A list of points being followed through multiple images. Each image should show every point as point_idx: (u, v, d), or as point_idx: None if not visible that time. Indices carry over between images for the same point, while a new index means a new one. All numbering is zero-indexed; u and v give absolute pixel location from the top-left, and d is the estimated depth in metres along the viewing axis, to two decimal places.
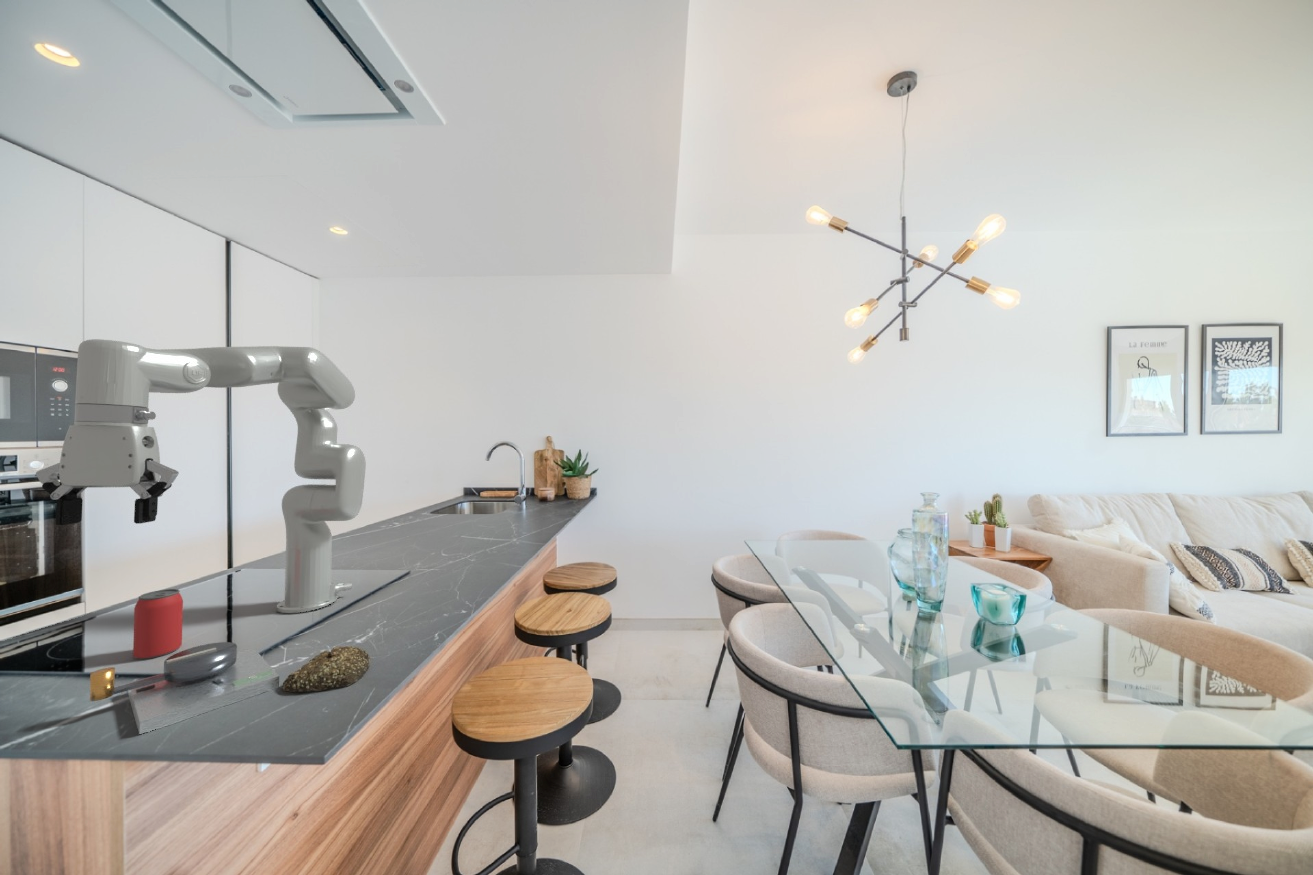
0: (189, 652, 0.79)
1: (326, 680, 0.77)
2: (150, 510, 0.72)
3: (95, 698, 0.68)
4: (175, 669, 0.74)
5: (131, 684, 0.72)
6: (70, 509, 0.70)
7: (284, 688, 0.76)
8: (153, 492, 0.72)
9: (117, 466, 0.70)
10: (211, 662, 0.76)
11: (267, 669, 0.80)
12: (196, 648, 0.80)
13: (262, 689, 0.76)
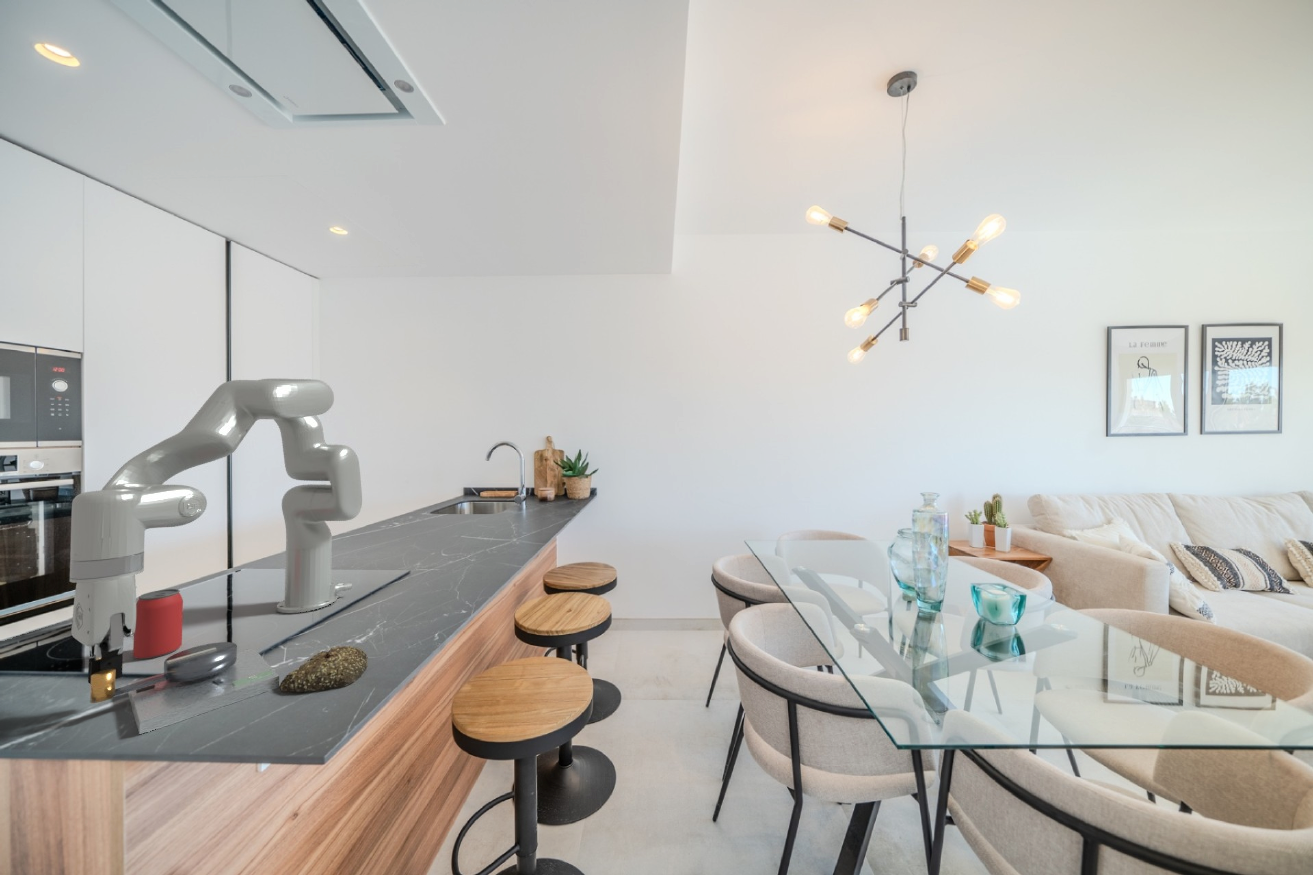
0: (188, 653, 0.78)
1: (324, 680, 0.77)
2: None
3: (96, 700, 0.68)
4: (177, 669, 0.74)
5: (132, 685, 0.71)
6: None
7: (282, 688, 0.76)
8: None
9: None
10: (213, 661, 0.76)
11: (267, 669, 0.80)
12: (194, 649, 0.80)
13: (262, 689, 0.76)
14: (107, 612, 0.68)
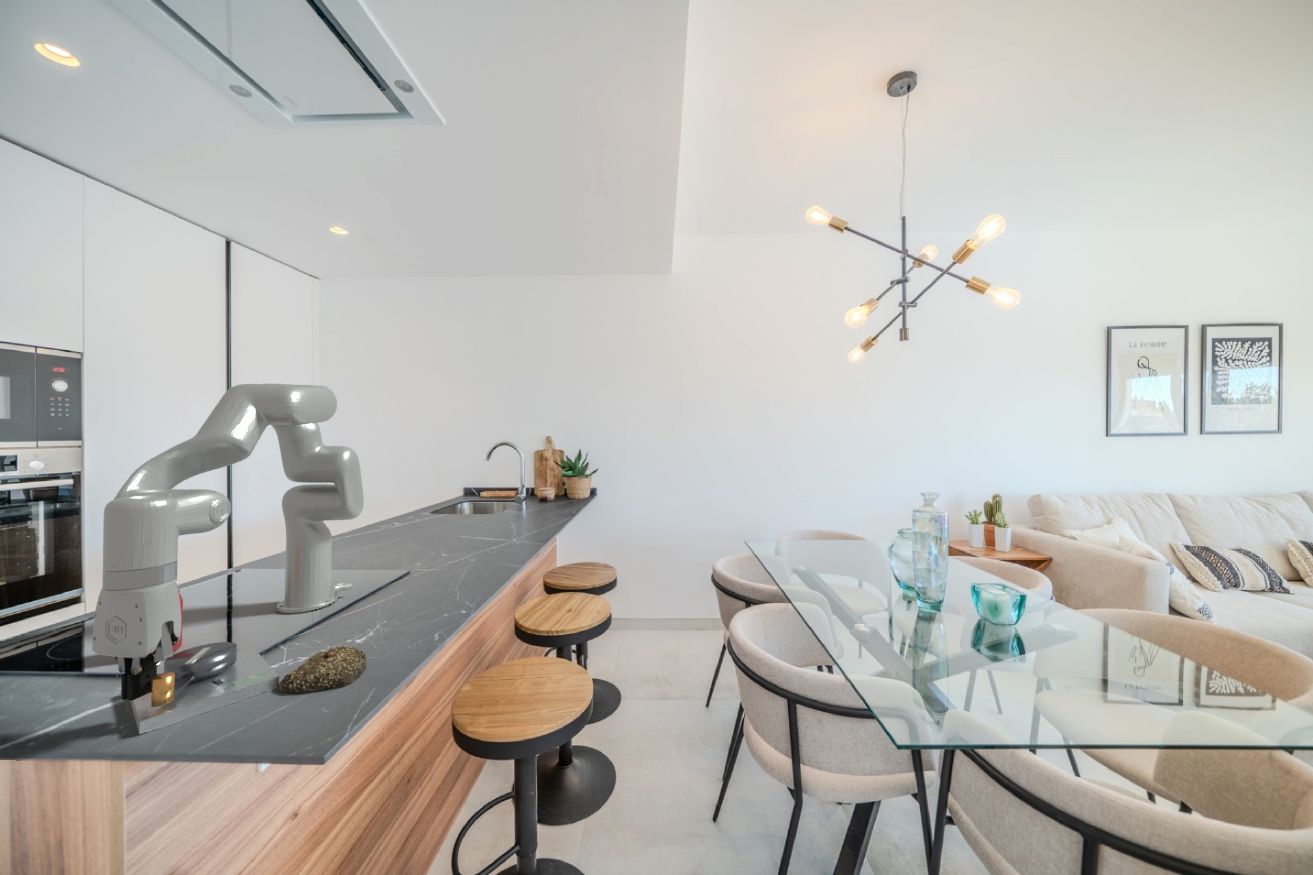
0: (180, 659, 0.76)
1: (322, 680, 0.77)
2: None
3: (168, 700, 0.68)
4: (212, 662, 0.76)
5: None
6: None
7: (280, 688, 0.76)
8: None
9: None
10: (235, 649, 0.80)
11: (267, 669, 0.80)
12: (174, 657, 0.77)
13: (262, 689, 0.76)
14: (159, 621, 0.66)
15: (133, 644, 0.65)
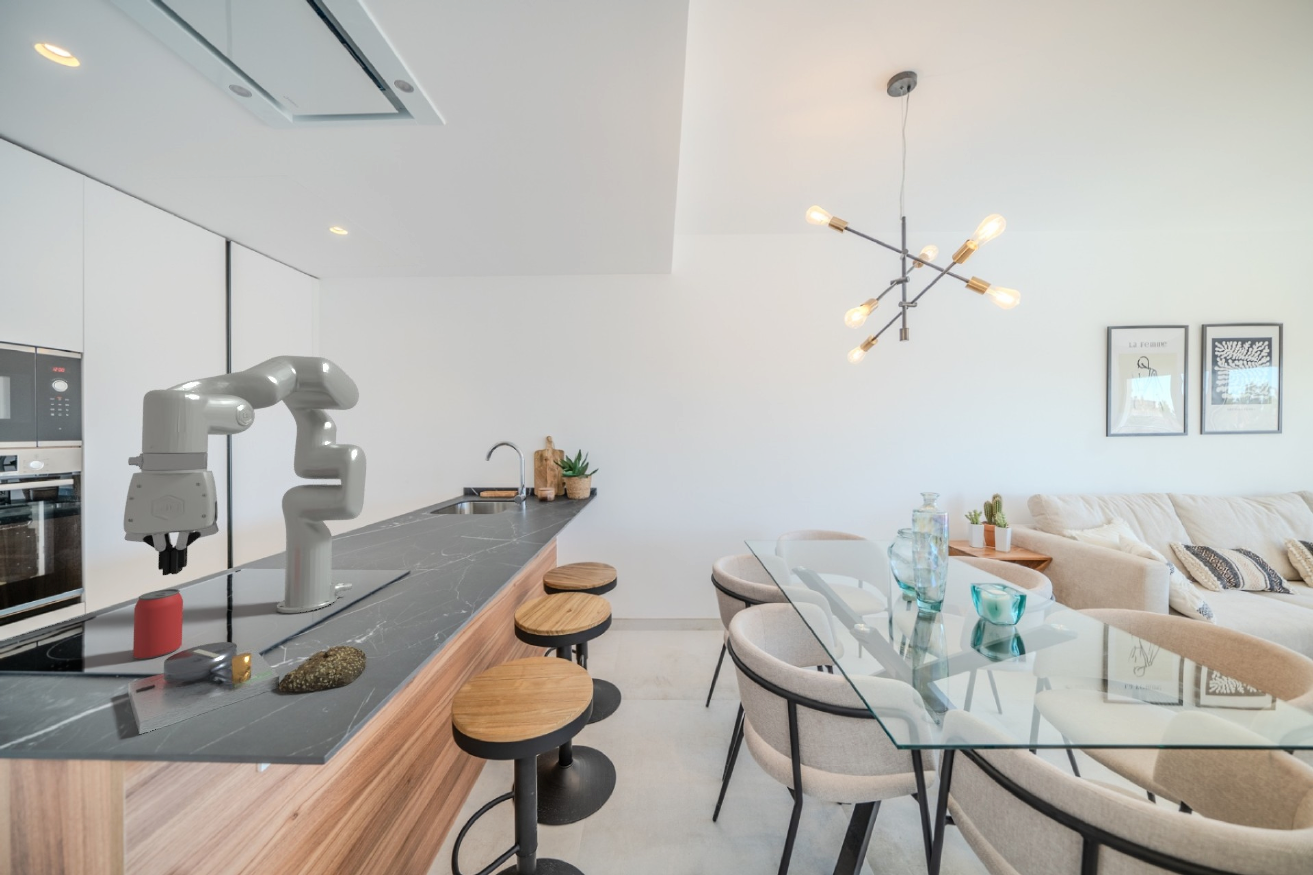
0: (189, 660, 0.76)
1: (322, 680, 0.77)
2: None
3: (250, 675, 0.75)
4: (233, 652, 0.80)
5: (229, 673, 0.76)
6: None
7: (280, 688, 0.76)
8: None
9: None
10: None
11: (267, 669, 0.80)
12: (176, 663, 0.75)
13: (262, 689, 0.76)
14: (214, 498, 0.76)
15: (195, 518, 0.74)
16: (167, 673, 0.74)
